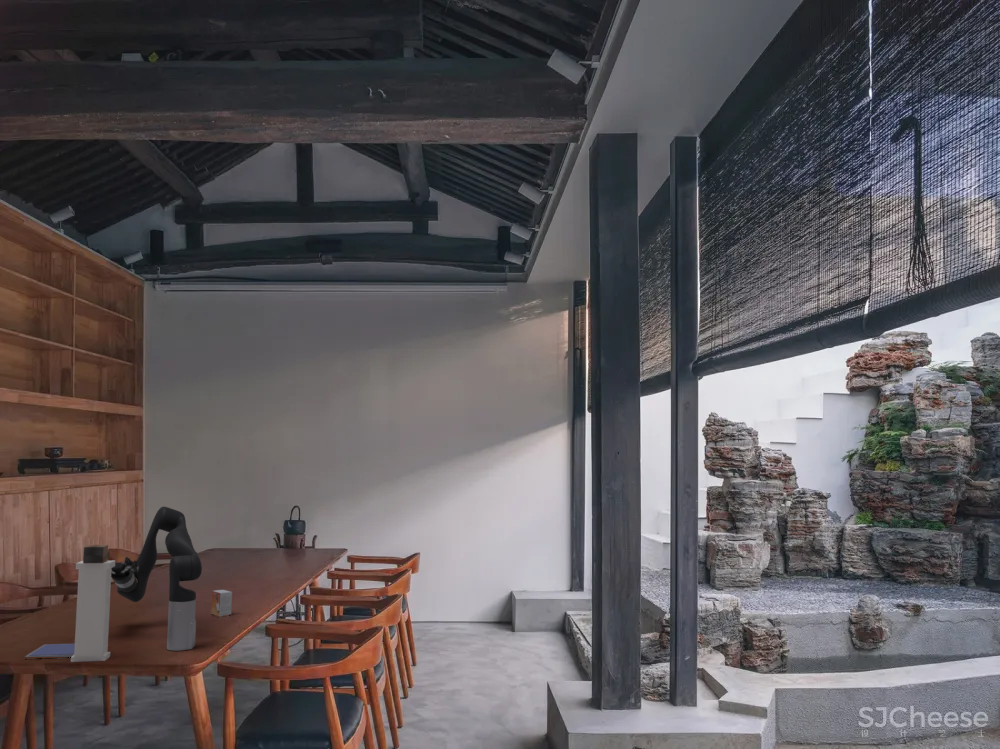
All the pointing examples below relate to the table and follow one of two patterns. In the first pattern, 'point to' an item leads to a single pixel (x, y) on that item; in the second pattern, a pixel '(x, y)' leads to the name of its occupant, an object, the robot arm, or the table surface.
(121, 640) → the table surface
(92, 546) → the stamp
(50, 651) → the pad
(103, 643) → the tall post
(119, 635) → the table surface
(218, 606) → the small box
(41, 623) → the table surface
